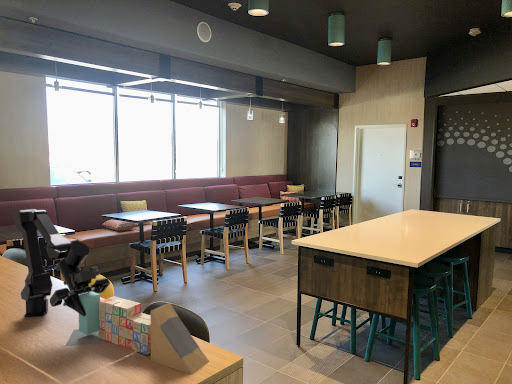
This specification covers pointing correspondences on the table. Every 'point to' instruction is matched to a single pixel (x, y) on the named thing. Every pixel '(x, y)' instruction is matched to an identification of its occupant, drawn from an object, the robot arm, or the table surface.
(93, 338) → the charcoal mat
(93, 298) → the teal block
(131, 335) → the stack of blocks
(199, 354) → the sandwich container
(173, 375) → the table surface
